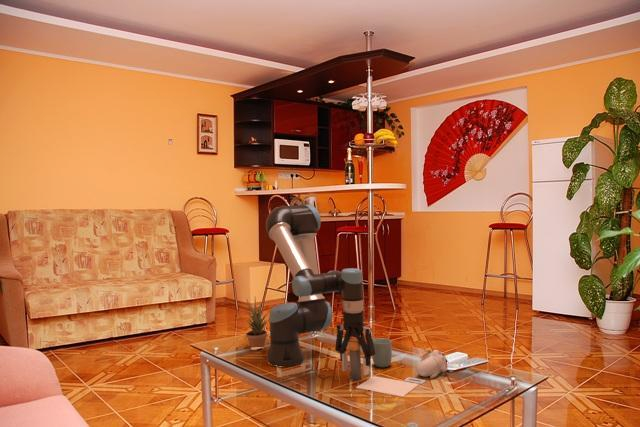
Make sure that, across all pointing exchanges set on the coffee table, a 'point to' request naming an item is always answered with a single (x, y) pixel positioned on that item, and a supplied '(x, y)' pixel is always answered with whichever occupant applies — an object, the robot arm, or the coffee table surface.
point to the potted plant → (256, 328)
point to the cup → (382, 352)
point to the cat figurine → (431, 364)
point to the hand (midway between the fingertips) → (355, 372)
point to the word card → (414, 380)
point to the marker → (355, 359)
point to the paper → (388, 386)
